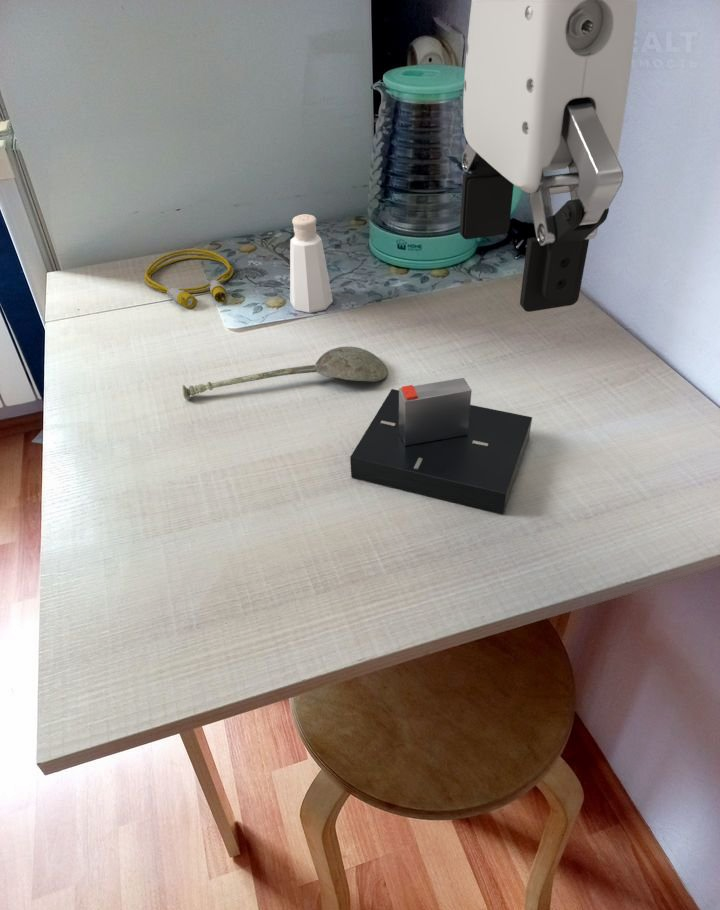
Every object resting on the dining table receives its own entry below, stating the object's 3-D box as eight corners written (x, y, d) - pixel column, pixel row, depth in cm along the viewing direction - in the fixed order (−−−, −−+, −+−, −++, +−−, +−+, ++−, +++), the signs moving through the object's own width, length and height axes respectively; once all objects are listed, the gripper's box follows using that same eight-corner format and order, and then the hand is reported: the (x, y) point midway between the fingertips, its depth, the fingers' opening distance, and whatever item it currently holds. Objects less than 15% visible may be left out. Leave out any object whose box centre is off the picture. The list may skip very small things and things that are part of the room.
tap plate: (529, 437, 68) (532, 415, 66) (503, 515, 60) (506, 492, 58) (391, 408, 72) (391, 387, 70) (351, 477, 64) (349, 455, 63)
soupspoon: (394, 392, 75) (380, 361, 80) (395, 364, 73) (381, 334, 78) (184, 416, 72) (184, 382, 77) (179, 388, 70) (179, 355, 75)
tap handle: (460, 421, 66) (464, 375, 62) (467, 434, 64) (472, 387, 61) (398, 432, 65) (398, 386, 62) (404, 446, 63) (405, 399, 60)
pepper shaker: (292, 292, 91) (283, 209, 84) (334, 292, 91) (329, 208, 84) (287, 313, 87) (277, 227, 80) (331, 313, 87) (325, 227, 80)
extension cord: (129, 312, 89) (125, 298, 87) (157, 257, 101) (154, 244, 99) (225, 310, 88) (223, 295, 87) (242, 255, 100) (240, 241, 99)
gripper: (756, -88, 25) (647, 330, 36) (549, -106, 38) (515, 207, 49) (561, -74, 24) (510, 352, 35) (415, -98, 37) (412, 220, 48)
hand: (513, 267), depth 42 cm, fingers open, 9 cm apart
